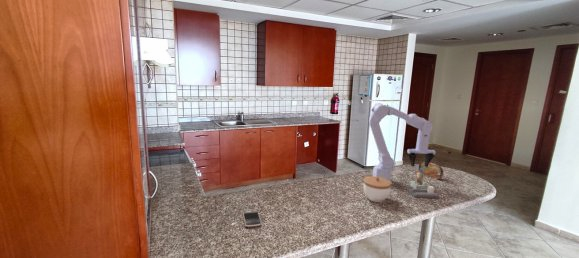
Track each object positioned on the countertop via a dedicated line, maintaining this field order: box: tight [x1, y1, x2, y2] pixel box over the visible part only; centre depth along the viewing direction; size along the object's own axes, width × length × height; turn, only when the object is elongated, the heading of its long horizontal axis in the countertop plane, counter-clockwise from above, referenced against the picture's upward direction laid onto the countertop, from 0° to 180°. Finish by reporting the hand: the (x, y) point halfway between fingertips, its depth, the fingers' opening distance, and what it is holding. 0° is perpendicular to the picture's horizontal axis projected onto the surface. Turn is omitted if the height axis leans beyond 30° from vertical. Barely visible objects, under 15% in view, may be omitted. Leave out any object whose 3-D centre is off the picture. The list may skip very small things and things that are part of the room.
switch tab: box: [427, 185, 435, 193], centre depth 135 cm, size 2×3×3 cm, turn 1°
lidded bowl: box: [363, 175, 392, 203], centre depth 129 cm, size 13×13×11 cm
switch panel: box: [407, 188, 439, 199], centre depth 136 cm, size 12×7×2 cm, turn 91°
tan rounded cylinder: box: [415, 171, 425, 185], centre depth 143 cm, size 3×3×8 cm
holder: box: [410, 180, 429, 189], centre depth 144 cm, size 6×6×3 cm
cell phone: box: [242, 211, 262, 228], centre depth 107 cm, size 6×11×1 cm, turn 15°
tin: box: [418, 161, 444, 180], centre depth 162 cm, size 15×3×8 cm, turn 25°
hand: (419, 166), depth 148 cm, fingers open, 7 cm apart
